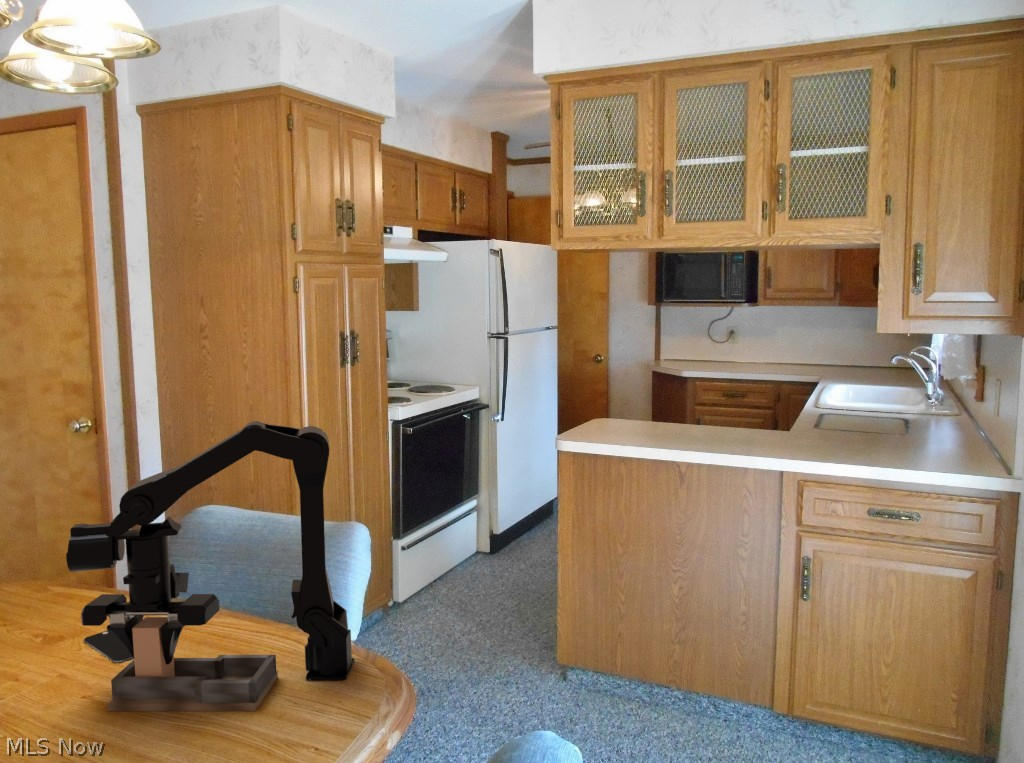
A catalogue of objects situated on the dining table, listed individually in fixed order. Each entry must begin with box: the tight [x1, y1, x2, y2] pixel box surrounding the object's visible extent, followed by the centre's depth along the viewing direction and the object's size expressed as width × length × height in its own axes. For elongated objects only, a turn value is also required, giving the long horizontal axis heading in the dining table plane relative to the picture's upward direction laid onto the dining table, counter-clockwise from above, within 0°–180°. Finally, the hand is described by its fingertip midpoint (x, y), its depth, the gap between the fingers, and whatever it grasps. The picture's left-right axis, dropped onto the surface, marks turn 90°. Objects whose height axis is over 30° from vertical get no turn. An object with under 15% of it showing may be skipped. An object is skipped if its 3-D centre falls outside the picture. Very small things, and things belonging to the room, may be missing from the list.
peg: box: [132, 616, 175, 677], centre depth 116 cm, size 4×4×10 cm
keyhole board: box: [106, 654, 279, 712], centre depth 116 cm, size 22×10×4 cm, turn 89°
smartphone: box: [83, 629, 134, 664], centre depth 134 cm, size 8×1×15 cm
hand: (154, 663), depth 116 cm, fingers closed on peg, 4 cm apart
